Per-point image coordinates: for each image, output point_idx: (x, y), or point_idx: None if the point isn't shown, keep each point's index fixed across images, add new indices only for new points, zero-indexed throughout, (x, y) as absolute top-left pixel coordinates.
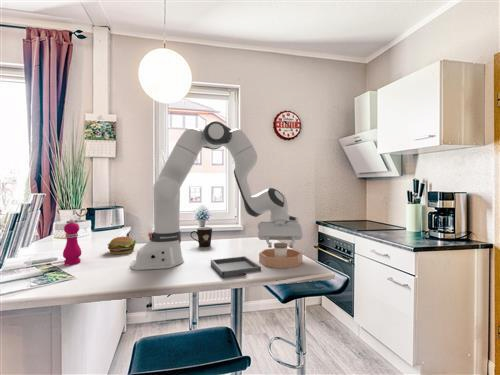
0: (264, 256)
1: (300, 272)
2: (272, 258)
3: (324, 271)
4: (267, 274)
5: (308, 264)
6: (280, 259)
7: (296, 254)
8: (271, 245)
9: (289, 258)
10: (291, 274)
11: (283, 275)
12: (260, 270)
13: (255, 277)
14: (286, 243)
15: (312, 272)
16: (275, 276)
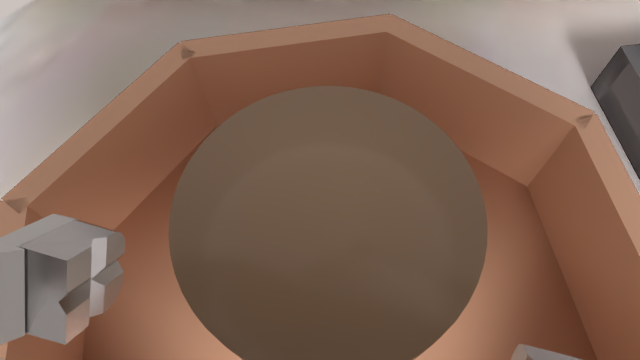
0: (615, 156)
1: None
2: (504, 77)
3: (43, 30)
4: (532, 52)
5: None
6: (413, 33)
7: (42, 339)
8: (525, 346)
9: (302, 31)
10: (334, 19)
11: (404, 12)
12: (607, 70)
13: (635, 13)
14: (177, 218)
15: (150, 28)
16: (472, 5)
